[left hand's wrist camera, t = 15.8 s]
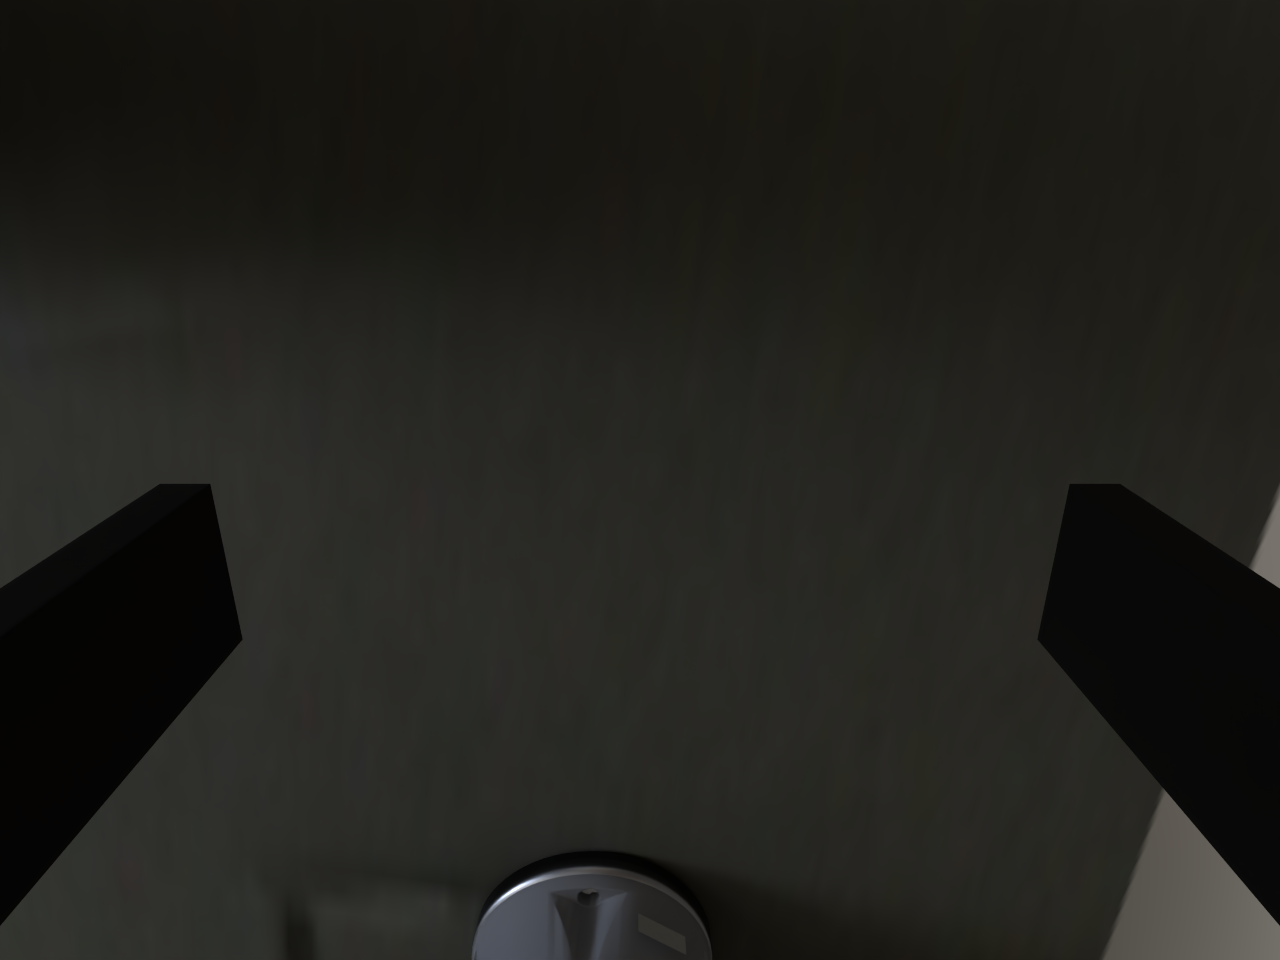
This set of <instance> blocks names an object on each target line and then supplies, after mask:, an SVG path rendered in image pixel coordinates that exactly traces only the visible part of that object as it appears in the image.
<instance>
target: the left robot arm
mask: <svg viewBox="0 0 1280 960" xmlns="http://www.w3.org/2000/svg"><path fill="white" fill-rule="evenodd" d="M241 641H242V635H241V630H240V625H239V620H238V615H237V611H236V606H235V601H234V596H233V591H232V587H231V582H230V577H229V572H228V567H227V562H226V558H225V553H224V548H223V543H222V538H221V534H220V529H219V524H218V519H217V514H216V510H215V505H214V500H213V495H212V490H211V486H210V484H159V485H158V486H156V487H155V488H153V489H152V490H150V491H149V492H147V493H145V494H144V495H142V496H141V497H139V498H138V499H136V500H135V501H133V502H132V503H130V504H129V505H127V506H126V507H124V508H123V509H121V510H119V511H118V512H116V513H115V514H113V515H112V516H110V517H109V518H107V519H106V520H104V521H103V522H101V523H100V524H98V525H97V526H95V527H93V528H92V529H90V530H89V531H87V532H86V533H84V534H83V535H81V536H80V537H78V538H77V539H75V540H74V541H72V542H71V543H69V544H68V545H66V546H64V547H63V548H61V549H60V550H58V551H57V552H55V553H54V554H52V555H51V556H49V557H48V558H46V559H45V560H43V561H42V562H40V563H38V564H37V565H35V566H34V567H32V568H31V569H29V570H28V571H26V572H25V573H23V574H22V575H20V576H19V577H17V578H16V579H14V580H13V581H11V582H9V583H8V584H6V585H5V586H3V587H2V588H0V925H1V924H2V923H3V922H4V921H5V919H6V918H7V917H8V916H9V915H10V913H11V912H12V911H13V910H14V909H15V908H16V906H17V905H18V904H19V903H20V902H21V900H22V899H23V898H24V897H25V896H26V895H27V893H28V892H29V891H30V890H31V889H32V887H33V886H34V885H35V884H36V883H37V882H38V880H39V879H40V878H41V877H42V876H43V874H44V873H45V872H46V871H47V870H48V869H49V867H50V866H51V865H52V864H53V863H54V861H55V860H56V859H57V858H58V857H59V856H60V854H61V853H62V852H63V851H64V850H65V848H66V847H67V846H68V845H69V844H70V843H71V841H72V840H73V839H74V838H75V837H76V835H77V834H78V833H79V832H80V831H81V830H82V828H83V827H84V826H85V825H86V824H87V823H88V821H89V820H90V819H91V818H92V817H93V815H94V814H95V813H96V812H97V811H98V810H99V808H100V807H101V806H102V805H103V804H104V802H105V801H106V800H107V799H108V798H109V797H110V795H111V794H112V793H113V792H114V791H115V789H116V788H117V787H118V786H119V785H120V784H121V782H122V781H123V780H124V779H125V778H126V776H127V775H128V774H129V773H130V772H131V771H132V769H133V768H134V767H135V766H136V765H137V763H138V762H139V761H140V760H141V759H142V758H143V756H144V755H145V754H146V753H147V752H148V750H149V749H150V748H151V747H152V746H153V745H154V743H155V742H156V741H157V740H158V739H159V737H160V736H161V735H162V734H163V733H164V732H165V730H166V729H167V728H168V727H169V726H170V724H171V723H172V722H173V721H174V720H175V719H176V717H177V716H178V715H179V714H180V713H181V711H182V710H183V709H184V708H185V707H186V706H187V704H188V703H189V702H190V701H191V700H192V698H193V697H194V696H195V695H196V694H197V693H198V691H199V690H200V689H201V688H202V687H203V685H204V684H205V683H206V682H207V681H208V680H209V678H210V677H211V676H212V675H213V674H214V672H215V671H216V670H217V669H218V668H219V667H220V665H221V664H222V663H223V662H224V661H225V659H226V658H227V657H228V656H229V655H230V654H231V652H232V651H233V650H234V649H235V648H236V646H237V645H238V644H239V643H240V642H241ZM1038 641H1039V642H1040V643H1041V644H1042V645H1043V646H1044V648H1045V649H1046V650H1047V651H1048V652H1049V654H1050V655H1051V656H1052V657H1053V658H1054V659H1055V661H1056V662H1057V663H1058V664H1059V665H1060V667H1061V668H1062V669H1063V670H1064V671H1065V672H1066V674H1067V675H1068V676H1069V677H1070V678H1071V680H1072V681H1073V682H1074V683H1075V684H1076V685H1077V687H1078V688H1079V689H1080V690H1081V691H1082V693H1083V694H1084V695H1085V696H1086V697H1087V698H1088V700H1089V701H1090V702H1091V703H1092V704H1093V706H1094V707H1095V708H1096V709H1097V710H1098V711H1099V713H1100V714H1101V715H1102V716H1103V717H1104V719H1105V720H1106V721H1107V722H1108V723H1109V724H1110V726H1111V727H1112V728H1113V729H1114V730H1115V732H1116V733H1117V734H1118V735H1119V736H1120V737H1121V739H1122V740H1123V741H1124V742H1125V743H1126V745H1127V746H1128V747H1129V748H1130V749H1131V750H1132V752H1133V753H1134V754H1135V755H1136V756H1137V758H1138V759H1139V760H1140V761H1141V762H1142V763H1143V765H1144V766H1145V767H1146V768H1147V769H1148V771H1149V772H1150V773H1151V774H1152V775H1153V776H1154V778H1155V779H1156V780H1157V781H1158V782H1159V784H1160V785H1161V786H1162V787H1163V788H1164V789H1165V791H1166V792H1167V793H1168V794H1169V795H1170V796H1171V798H1172V799H1173V800H1174V801H1175V802H1176V804H1177V805H1178V806H1179V807H1180V808H1181V809H1182V811H1183V812H1184V813H1185V814H1186V815H1187V817H1188V818H1189V819H1190V820H1191V821H1192V823H1193V824H1194V825H1195V826H1196V827H1197V828H1198V830H1199V831H1200V832H1201V833H1202V834H1203V835H1204V837H1205V838H1206V839H1207V840H1208V841H1209V843H1210V844H1211V845H1212V846H1213V847H1214V848H1215V850H1216V851H1217V852H1218V853H1219V854H1220V856H1221V857H1222V858H1223V859H1224V860H1225V861H1226V863H1227V864H1228V865H1229V866H1230V867H1231V869H1232V870H1233V871H1234V872H1235V873H1236V874H1237V876H1238V877H1239V878H1240V879H1241V880H1242V881H1243V883H1244V884H1245V885H1246V886H1247V887H1248V889H1249V890H1250V891H1251V892H1252V893H1253V895H1254V896H1255V897H1256V898H1257V899H1258V900H1259V902H1260V903H1261V904H1262V905H1263V906H1264V908H1265V909H1266V910H1267V911H1268V912H1269V913H1270V915H1271V916H1272V917H1273V918H1274V919H1275V921H1276V922H1277V923H1278V924H1279V925H1280V588H1278V587H1277V586H1275V585H1274V584H1272V583H1271V582H1269V581H1267V580H1266V579H1264V578H1263V577H1261V576H1260V575H1258V574H1257V573H1255V572H1254V571H1252V570H1251V569H1249V568H1248V567H1246V566H1245V565H1243V564H1242V563H1240V562H1238V561H1237V560H1235V559H1234V558H1232V557H1231V556H1229V555H1228V554H1226V553H1225V552H1223V551H1222V550H1220V549H1219V548H1217V547H1216V546H1214V545H1212V544H1211V543H1209V542H1208V541H1206V540H1205V539H1203V538H1202V537H1200V536H1199V535H1197V534H1196V533H1194V532H1193V531H1191V530H1190V529H1188V528H1187V527H1185V526H1183V525H1182V524H1180V523H1179V522H1177V521H1176V520H1174V519H1173V518H1171V517H1170V516H1168V515H1167V514H1165V513H1164V512H1162V511H1161V510H1159V509H1157V508H1156V507H1154V506H1153V505H1151V504H1150V503H1148V502H1147V501H1145V500H1144V499H1142V498H1141V497H1139V496H1138V495H1136V494H1135V493H1133V492H1131V491H1130V490H1128V489H1127V488H1125V487H1124V486H1122V485H1121V484H1070V486H1069V490H1068V495H1067V500H1066V505H1065V510H1064V514H1063V519H1062V524H1061V529H1060V534H1059V538H1058V543H1057V548H1056V553H1055V558H1054V562H1053V567H1052V572H1051V577H1050V582H1049V587H1048V591H1047V596H1046V601H1045V606H1044V611H1043V615H1042V620H1041V625H1040V630H1039V635H1038ZM472 960H712V949H711V939H710V930H709V924H708V920H707V917H706V914H705V912H704V910H703V908H702V906H701V904H700V903H699V901H698V900H697V898H696V897H695V896H694V894H693V893H692V892H691V891H690V890H689V889H688V888H687V887H686V886H685V885H684V884H683V883H682V882H681V881H679V880H678V879H677V878H676V877H674V876H673V875H671V874H670V873H668V872H667V871H665V870H663V869H661V868H660V867H657V866H655V865H653V864H651V863H649V862H646V861H643V860H640V859H637V858H634V857H630V856H626V855H621V854H616V853H608V852H574V853H566V854H561V855H556V856H552V857H548V858H545V859H542V860H539V861H536V862H534V863H532V864H529V865H527V866H525V867H523V868H521V869H520V870H518V871H516V872H515V873H513V874H512V875H510V876H509V877H508V878H506V879H505V880H504V881H503V882H502V883H501V884H499V885H498V886H497V888H496V889H495V890H494V891H493V892H492V893H491V895H490V896H489V897H488V899H487V900H486V902H485V904H484V906H483V908H482V910H481V913H480V915H479V919H478V923H477V928H476V933H475V937H474V942H473V946H472Z"/></svg>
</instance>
